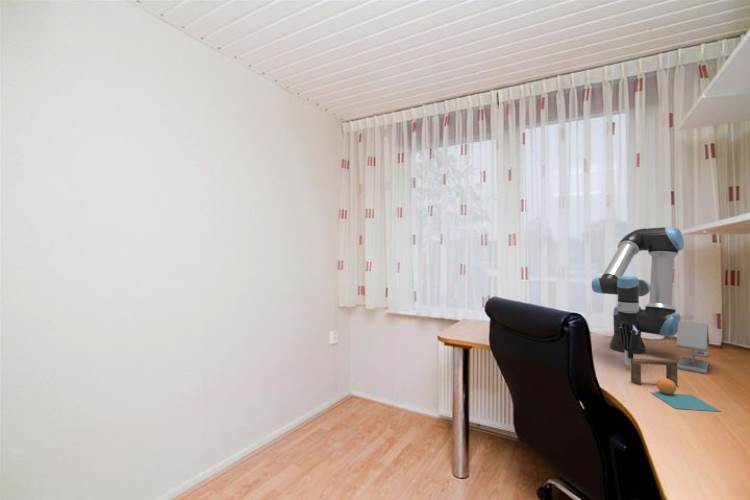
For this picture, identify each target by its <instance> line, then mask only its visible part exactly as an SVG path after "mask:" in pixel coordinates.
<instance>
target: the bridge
mask: <svg viewBox="0 0 750 500" xmlns="http://www.w3.org/2000/svg"><path fill="white" fill-rule="evenodd" d="M677 364H678V362H676V361H675V360H672V359H653V358H652V359H651V358H633V359H631V366H630V382H631V383H633V384H634V385H640V386H641V385H642V365H650V366H651V365H652V366H655V365H656V366H665V368H666V369H665V370H666V371H665V372H666V373H665V375H666V377H665V378H667V379H670V380H671V381H673V382H674V383H675V385H676V388H677V387H678V383H679V382H678V381H679V380H678V369H677Z"/></svg>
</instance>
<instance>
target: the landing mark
mask: <svg viewBox="0 0 750 500" xmlns="http://www.w3.org/2000/svg"><path fill="white" fill-rule="evenodd" d="M650 394H651V395H653V396H654V397H656V398H658V399H659V400H661V401H662V402H663V403H665V404H667V405H669V406H670V407H672V408H673V409H674V410H683V411H685V410H688V411H703V412H704V411H705V412H719V413H720V412H722V411H721V410H720V409H718V408H716V407H714V406H713V405H711V404H709V403H707V402H705V401H703V400H702V399H701V398H698V397H696V396H694V395H693V394H687V393H673V394H664V393H662V392H655V391H654V392H652V391H651V392H650Z"/></svg>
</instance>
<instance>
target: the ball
mask: <svg viewBox="0 0 750 500" xmlns="http://www.w3.org/2000/svg"><path fill="white" fill-rule="evenodd" d="M655 384H656V388H657V389H658V391H659V392H660V393H664V394H675V392H676V391H677V387H676V385H675V383H674V382H673V381H671V380H670V379H667V378H666V377H662V378H659V379H658V380H657V381H656V383H655Z"/></svg>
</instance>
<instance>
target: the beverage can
mask: <svg viewBox="0 0 750 500" xmlns="http://www.w3.org/2000/svg"><path fill="white" fill-rule="evenodd" d="M706 347H707V352H705V351H699V350H695V356H698V357H708V356H709V349H708V348H709V344H707V345H706Z"/></svg>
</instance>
